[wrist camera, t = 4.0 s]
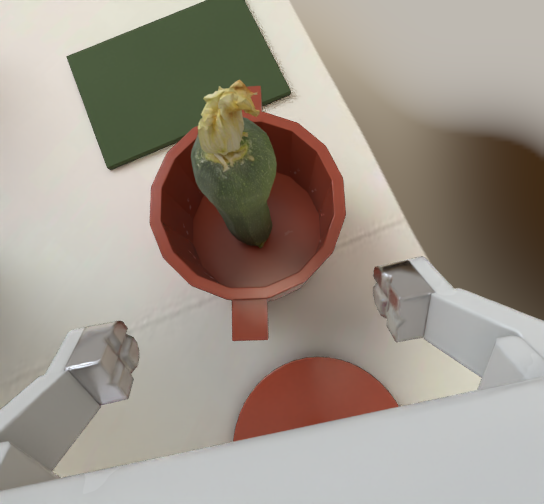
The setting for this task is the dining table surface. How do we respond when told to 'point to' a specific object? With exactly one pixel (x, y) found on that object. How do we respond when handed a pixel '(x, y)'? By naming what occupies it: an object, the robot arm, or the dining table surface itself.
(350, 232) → the dining table surface
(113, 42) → the mat
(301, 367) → the pot lid
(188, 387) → the dining table surface
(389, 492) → the robot arm
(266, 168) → the vegetable
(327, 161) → the pot
